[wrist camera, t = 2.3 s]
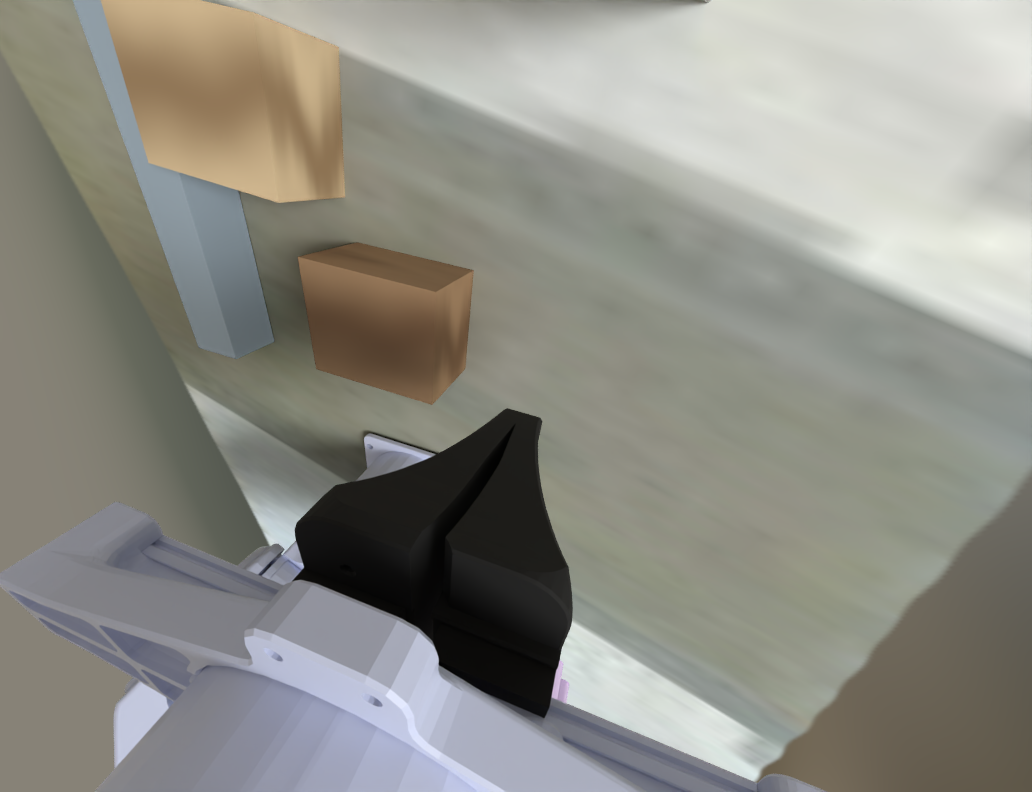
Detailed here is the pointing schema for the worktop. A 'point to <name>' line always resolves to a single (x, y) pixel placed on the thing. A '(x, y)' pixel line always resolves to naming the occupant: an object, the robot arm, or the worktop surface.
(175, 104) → the oak block
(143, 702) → the robot arm
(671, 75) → the worktop surface
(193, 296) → the batten
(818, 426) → the worktop surface
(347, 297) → the walnut block
